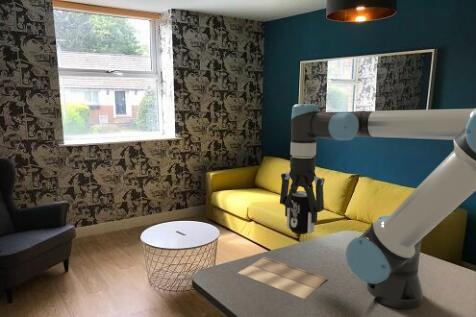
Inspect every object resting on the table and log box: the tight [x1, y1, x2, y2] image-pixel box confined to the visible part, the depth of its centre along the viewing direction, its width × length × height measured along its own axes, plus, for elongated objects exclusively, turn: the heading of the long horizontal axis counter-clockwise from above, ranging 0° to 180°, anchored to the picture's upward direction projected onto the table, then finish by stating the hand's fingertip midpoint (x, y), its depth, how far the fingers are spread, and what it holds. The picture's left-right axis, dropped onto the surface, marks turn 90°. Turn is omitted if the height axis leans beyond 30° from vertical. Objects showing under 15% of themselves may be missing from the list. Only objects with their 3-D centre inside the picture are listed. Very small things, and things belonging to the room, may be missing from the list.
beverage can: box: [289, 190, 311, 235], centre depth 110 cm, size 7×7×12 cm
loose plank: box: [251, 256, 328, 290], centre depth 116 cm, size 24×7×1 cm, turn 51°
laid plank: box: [237, 264, 317, 300], centre depth 111 cm, size 24×7×1 cm, turn 51°
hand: (300, 229), depth 111 cm, fingers closed on beverage can, 7 cm apart
